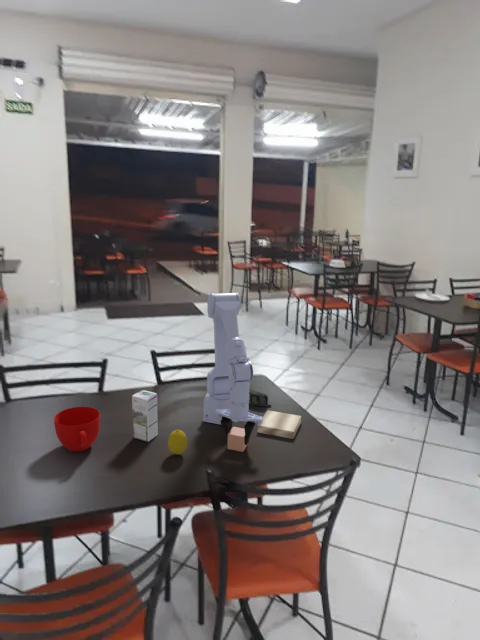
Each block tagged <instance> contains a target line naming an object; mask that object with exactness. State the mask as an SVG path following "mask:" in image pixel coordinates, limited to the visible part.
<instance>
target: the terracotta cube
mask: <svg viewBox="0 0 480 640" xmlns="http://www.w3.org/2000/svg"><path fill="white" fill-rule="evenodd" d="M248 445H249V443H248V444H247V445H245V429H244V427H243V428H241V427H239V426H238V427H237V426H232V429H231V430H230V432H229V433H228V441H227V447H226V448H227V450H231V451H235V452H236V451H237V452H242V453H243V452H244V451H245V449H246V448H247V446H248Z"/></svg>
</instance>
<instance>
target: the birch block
mask: <svg viewBox="0 0 480 640" xmlns="http://www.w3.org/2000/svg"><path fill="white" fill-rule="evenodd" d="M262 417H263V423H262V424H261V425H258V424H257V433H259V434H266V435H269V436H275V437H276V436H277V437H282V438H287V439H290V440H294V438H295V437H296V434H297V432H298V431H299V428H300V426H301V424H302V415H297V414H293V413H292V414H290V413H284V412H279V411H273V410H269V409H267V410H266V412H265V413H264V415H263V416H262Z"/></svg>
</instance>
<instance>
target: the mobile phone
mask: <svg viewBox="0 0 480 640" xmlns="http://www.w3.org/2000/svg"><path fill="white" fill-rule="evenodd" d="M249 405H252V406H257V407H270V408H271V407H272V405H271V404H269V396H268V395H267V394H266V393H263V392H261V391H255V390H252V389H249Z"/></svg>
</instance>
